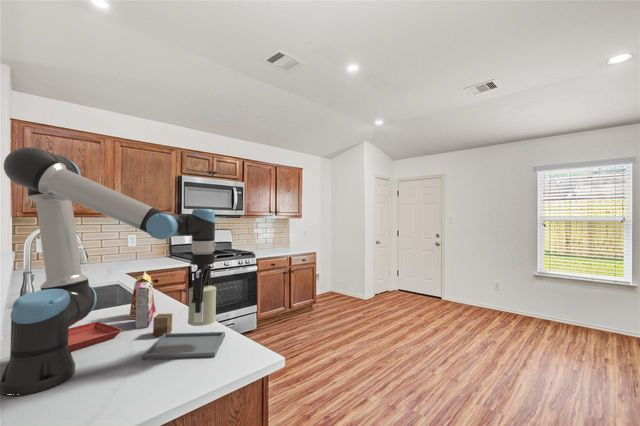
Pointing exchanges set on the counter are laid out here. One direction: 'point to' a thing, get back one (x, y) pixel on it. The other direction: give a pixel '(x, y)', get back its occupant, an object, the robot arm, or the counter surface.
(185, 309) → the counter surface
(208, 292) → the can
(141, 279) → the milk carton
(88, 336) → the plant saucer
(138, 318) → the candy bar box
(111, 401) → the counter surface
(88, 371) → the counter surface
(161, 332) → the walnut block
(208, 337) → the tray
